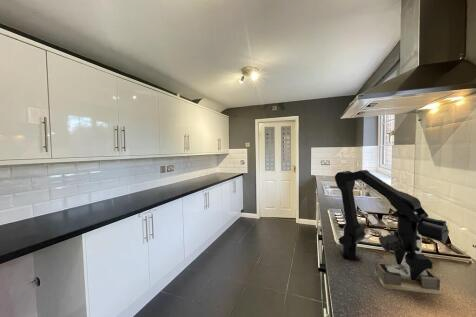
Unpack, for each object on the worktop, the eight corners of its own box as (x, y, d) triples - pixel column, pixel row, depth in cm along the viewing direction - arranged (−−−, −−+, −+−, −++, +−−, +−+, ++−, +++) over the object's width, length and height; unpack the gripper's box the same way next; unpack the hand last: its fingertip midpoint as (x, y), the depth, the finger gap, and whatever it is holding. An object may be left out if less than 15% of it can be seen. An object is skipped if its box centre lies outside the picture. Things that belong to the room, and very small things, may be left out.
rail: (420, 275, 77) (421, 265, 76) (427, 283, 73) (428, 273, 73) (384, 272, 80) (384, 262, 79) (389, 279, 76) (389, 269, 75)
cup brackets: (375, 271, 82) (375, 262, 82) (425, 276, 78) (425, 266, 78) (384, 284, 75) (384, 274, 74) (439, 290, 71) (440, 279, 70)
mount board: (374, 273, 82) (374, 270, 82) (424, 278, 79) (424, 275, 79) (384, 288, 74) (384, 284, 74) (440, 294, 70) (440, 291, 70)
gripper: (371, 220, 86) (370, 255, 87) (394, 241, 68) (393, 286, 69) (402, 221, 83) (401, 258, 85) (435, 244, 65) (432, 290, 66)
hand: (405, 271), depth 76 cm, fingers open, 9 cm apart
